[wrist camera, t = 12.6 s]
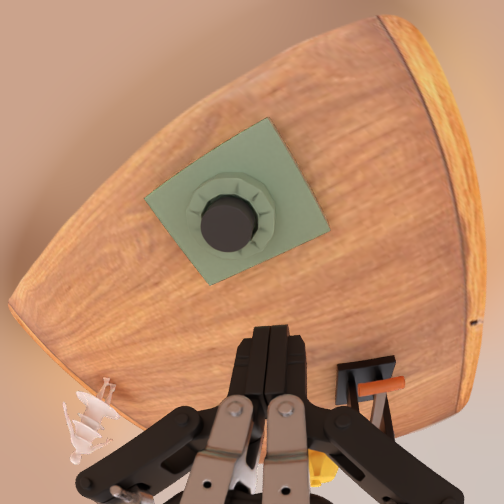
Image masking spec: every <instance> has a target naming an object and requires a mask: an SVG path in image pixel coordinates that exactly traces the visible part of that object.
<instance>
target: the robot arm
mask: <svg viewBox="0 0 504 504" xmlns="http://www.w3.org/2000/svg"><path fill="white" fill-rule="evenodd" d="M265 419H267V453H266V457H265V459H264V466H263V493H258V494H254V493H255V489H256V484H257V467H258V463H259V458H260V453H261V449H262V444H263V439H264V425H265ZM308 449H310V450H314V451H319V452H323V453H325V454H326V455H327V456H328V457H329V458H330V459H331V460H332V461H333V462H334V463H335V464H336V465H337V466H338V467H339V468H340V469H341V470H343V472H344V473H346V474H347V475H348V476H349V477H350V478H351V479H352V480H353V481H354V482H356V483H357V484H358V485H359V486H360V487H361V488H362V489H363V490H364V491H366V492H367V493H368V494H369V495H370V496H371V497H373V498H374V499H375V500H376V501H378V502H379V503H380V504H464V495H463V493H462V491H461V490H459V489H458V488H457V487H455V486H454V485H452V484H451V483H449V482H448V481H447V480H445V479H444V478H442V477H441V476H440V475H438V474H436V473H435V472H434V471H433V470H431V469H430V468H429V467H427V466H426V465H425V464H423V463H422V462H421V461H419V460H418V459H416V458H415V457H414V456H413V455H411V454H410V453H409V452H407V451H406V450H405V449H403V448H402V447H401V446H400V445H399V444H397V443H396V442H395V441H393V440H392V439H391V438H390V437H388V436H387V435H386V434H385V433H383V432H382V431H381V430H380V429H379V428H377V427H376V426H375V425H374V424H372V423H371V422H370V421H369V420H368V419H366V418H365V417H364V416H363V415H362V414H360V413H359V412H358V411H357V410H355V409H354V408H352V407H348V406H340V407H336V408H334V409H332V410H330V409H325V408H320V407H317V406H315V405H313V404H312V403H311V402H309V400H308V399H307V362H306V352H305V343H304V341H303V340H302V338H301V336H300V335H294V336H290V334H289V327H288V324H287V325H273V326H259V327H254V331H253V337H252V338H245V339H243V340H242V342H241V343H240V345H239V346H238V348H237V353H236V359H235V363H234V368H233V373H232V377H231V382H230V387H229V392H228V395H227V397H226V398H225V399H224V400H223V401H222V402H221V403H220V405H218V406H217V407H214V408H211V409H206V410H201V411H196V410H195V409H194V408H192V407H189V406H181V407H178V408H176V409H174V410H173V411H171V412H170V413H169V414H167V415H166V416H165V417H163V418H162V419H161V420H159V421H158V422H156V423H155V424H154V425H152V426H151V427H150V428H148V429H147V430H145V431H144V432H142V433H141V434H140V435H138V436H137V437H135V438H134V439H132V440H131V441H129V442H128V443H126V444H125V445H123V446H122V447H120V448H119V449H117V450H116V451H114V452H113V453H111V454H110V455H108V456H106V457H105V458H103V459H102V460H100V461H98V462H97V463H95V464H94V465H92V466H91V467H89V468H87V469H85V470H84V471H82V472H80V473H79V474H78V476H77V478H76V482H75V484H76V488H77V490H78V492H79V493H80V494H81V495H82V496H84V497H86V498H89V499H91V500H93V501H95V502H96V503H97V504H155V503H154V499H153V496H155V495H156V494H158V493H159V492H161V491H162V490H164V489H165V488H167V487H168V486H170V485H171V484H173V483H174V482H176V481H177V480H178V479H180V478H181V477H183V476H184V475H185V474H187V473H188V472H190V471H191V472H190V475H189V478H188V481H187V483H186V486H185V489H184V491H181V492H180V493H178V494H176V495H175V496H173V497H172V498H171V499H169V500H168V501H166V502H165V503H163V504H333V503H332V502H330V501H329V500H327V499H325V498H323V497H321V496H318V495H315V494H311V493H310V472H309V455H308Z"/></svg>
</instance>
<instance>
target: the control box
mask: <svg viewBox="0 0 504 504" xmlns="http://www.w3.org/2000/svg"><path fill="white" fill-rule="evenodd" d="M224 197H234V198H237V199H240V200H242V201H243V202H245V203H246V204H247V205H248V206H249V207H250V209H251V210H252V212H253V215H254V220H255V221H254V228H253V232H252V236H251V239H250V241H249V242H248V244H247V245H246V246H245V247H243V248H242V249H240V250H238V251H235V252H221V251H218V250H216V249H214V248H212V247H211V246H210V245H209V244H208V243H207V242H206V241H205V239H204V238H203V236H202V233H201V227H200V225H201V220H202V217H203V215H204V214H205V212H206V211H207V210H208V208H209V207H210V205H211V204H212V203H213V202H214V201H216V200H218V199H220V198H224ZM144 199H145V201H146V202H147V203H148V205H149V206H150V208H151V209H152V210H153V212H154V213H155V215H156V216H157V217H158V219H159V220H160V221H161V223H162V224H163V226H164V227H165V228H166V230H167V231H168V232H169V234H170V235H171V236H172V238H173V239H174V240H175V242H176V243H177V244H178V246H179V247H180V248H181V250H182V251H183V252H184V254H185V255H186V256H187V257H188V259H189V260H190V261H191V263H192V264H193V265H194V266H195V268H196V269H197V270H198V272H199V273H200V274H201V275H202V277H203V278H204V279H205V280H206V282H207V283H208V284H209V285H210V286H211V285H213V284H215V283H217V282H220V281H222V280H224V279H226V278H228V277H231V276H233V275H235V274H237V273H240V272H242V271H244V270H246V269H248V268H251V267H253V266H255V265H257V264H259V263H262V262H264V261H266V260H268V259H270V258H273V257H275V256H277V255H279V254H281V253H284V252H286V251H288V250H290V249H292V248H294V247H297V246H299V245H301V244H303V243H305V242H307V241H310V240H312V239H314V238H316V237H318V236H320V235H322V234H325V233H327V232H329V231H330V227H329V224H328V221H327V219H326V217H325V215H324V213H323V211H322V209H321V207H320V205H319V203H318V201H317V199H316V197H315V195H314V193H313V192H312V190H311V188H310V186H309V184H308V182H307V181H306V179H305V177H304V175H303V173H302V171H301V170H300V168H299V166H298V164H297V163H296V161H295V159H294V157H293V156H292V154H291V152H290V150H289V149H288V147H287V145H286V144H285V142H284V140H283V139H282V137H281V135H280V134H279V132H278V130H277V129H276V127H275V125H274V124H273V122H272V121H271V119H270V117H267V118H265V119H263V120H262V121H260V122H258V123H256V124H254V125H253V126H251V127H249V128H248V129H246V130H244V131H242V132H241V133H239V134H237V135H236V136H234V137H232V138H231V139H229V140H228V141H226V142H224V143H223V144H221V145H219V146H218V147H216V148H215V149H213V150H212V151H210V152H209V153H207V154H205V155H204V156H202V157H201V158H199V159H198V160H196V161H195V162H193V163H192V164H190V165H189V166H188V167H186V168H185V169H183V170H182V171H180V172H179V173H177V174H176V175H175V176H173V177H172V178H170V179H169V180H168V181H166V182H165V183H164V184H162V185H161V186H159V187H158V188H157V189H155V190H154V191H153V192H151V193H150V194H149V195H147V196H146V197H145V198H144Z"/></svg>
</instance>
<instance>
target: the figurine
mask: <svg viewBox="0 0 504 504" xmlns="http://www.w3.org/2000/svg"><path fill="white" fill-rule="evenodd" d="M103 380H104V384H103V386H102V388H101V389H100V391H99V392H98V394H97V395H96V397H94V396H92V395H90V394H88V393H85V392H81V391H77V392H76V395H77V397H78V398H79V397H80V398H79V399H80V400H81V401H82V402H83V403H84V404H85V405H86V410H85V412H84V414H80V413H78V415H79V416H80V417H81V418H82V419H81V422H78V421H76V420H72V422H73V423H74V424H75V427H76V433H75V434H74V430H73V427H72V424H71V421H70V419H69V416H68V414H67V409H66V405H65V402H63V408H64V413H65V417H66V420H67V425H68V427H69V430H70V435H71V442H72V445H73V446H74V447H75V448H76V451H75V452H73V453H72V454H71V456H70V460H71V462H72V463H73V464H76V465H77V464H79V463H80V459H81V458H82V456H81V455H80V454H90V453H92V452H93V451H95V450H96V449H99V448H102V447H104V446H105V445H107V444H109V443H110V442H111V441H113V439H110V440H108V438H107V442H106V443H101V444H98V445H96V446H94V447H92V448H90V445H92V444H91V442H92V441H93V440H94V439H95V438H96V437H97V438H102V436H101V435H100V434H99V433H97V430H98V429H99V428H100V429H102V430H104V427H102V426H101V421H102V418H103V417H104V416H105V417H107V416H108V417H107V418H110V417H111V419H120V416H119V414H118V413H117V412H116V411H115V410H114V409H113V408H112V407H110V406H109V405H110V402H111V397H112V393H113V392H114V391H115V386H116V384H111V383H110V384H109V380H110V379H109V378H106V377H103ZM108 385H109V386H110V392H109V395H108V397H107V398H106V400H105V402H103V401H101V399H102V397H103V394H104V391H105V388H106V386H108ZM78 395H79V396H78ZM84 395H85V396H84ZM87 401H88V402H87ZM110 408H111V409H110ZM116 417H117V418H116Z"/></svg>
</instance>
